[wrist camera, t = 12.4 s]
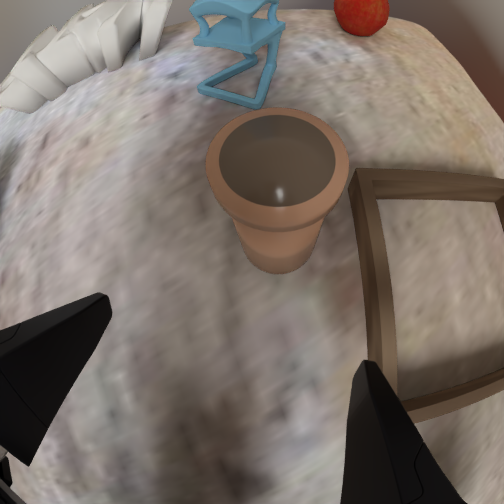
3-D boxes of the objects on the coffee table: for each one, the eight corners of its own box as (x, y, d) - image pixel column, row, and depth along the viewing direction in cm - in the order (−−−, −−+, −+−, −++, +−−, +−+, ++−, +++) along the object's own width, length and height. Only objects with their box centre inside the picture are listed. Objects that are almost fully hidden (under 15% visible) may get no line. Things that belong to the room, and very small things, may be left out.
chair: (294, 71, 27) (295, -19, 16) (257, 111, 25) (246, 3, 14) (238, 57, 29) (225, -24, 18) (197, 93, 27) (169, 2, 16)
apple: (391, 47, 29) (405, -10, 18) (337, 39, 29) (344, -23, 19) (375, 25, 31) (384, -26, 21) (327, 18, 32) (330, -36, 22)
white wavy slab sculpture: (190, 17, 35) (178, -30, 25) (185, 60, 30) (164, -4, 20) (36, 80, 37) (13, 49, 27) (6, 136, 32) (-26, 103, 22)
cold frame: (525, 367, 15) (545, 366, 12) (368, 420, 16) (381, 431, 13) (497, 194, 21) (512, 180, 18) (347, 188, 22) (355, 168, 19)
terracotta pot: (336, 249, 20) (377, 173, 11) (266, 296, 20) (255, 251, 10) (288, 188, 22) (291, 91, 13) (221, 228, 22) (182, 145, 12)
